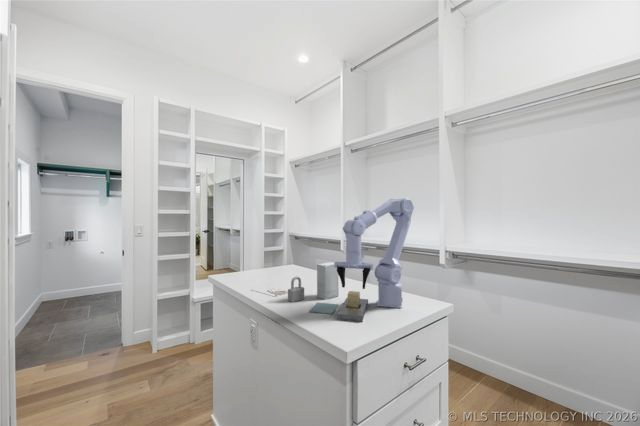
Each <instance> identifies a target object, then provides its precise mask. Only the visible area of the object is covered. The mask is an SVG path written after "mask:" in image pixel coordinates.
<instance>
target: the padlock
mask: <svg viewBox="0 0 640 426" xmlns="http://www.w3.org/2000/svg"><path fill="white" fill-rule="evenodd" d="M296 280H298V286H296V287H295V281H296ZM290 284H291V286H290V288H288V289H287V291H288V293H287V301H288V302H290V303H293V302H294V303H295V302H298V301H301V300H304V299H305V287H303V286H302V279H301V277H299V276H294V277H293V278H292V279H291V282H290Z"/></svg>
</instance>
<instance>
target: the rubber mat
mask: <svg viewBox="0 0 640 426" xmlns="http://www.w3.org/2000/svg"><path fill="white" fill-rule="evenodd" d="M338 307H339V303H330V302H329V303H328V302H316V303H315V304H313V306H312V307H311V308H310V310H309V311H308V313H314V314H315V313H316V314H323V315H333V314H334V313H335V311H336V310H337V309H338Z"/></svg>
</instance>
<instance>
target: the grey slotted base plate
mask: <svg viewBox="0 0 640 426" xmlns="http://www.w3.org/2000/svg"><path fill="white" fill-rule="evenodd" d="M368 306H369V299H368V298H360V309H357V308H348V297H346V298H345V299H344V302H343V303H342V305H341V306H340V308H339V309H338V312H337V313H336V320H339V321H349V322H358V323H359V322H360V323H362V322H363V320H364V318H365V315H366V312H367V310H368Z"/></svg>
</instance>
